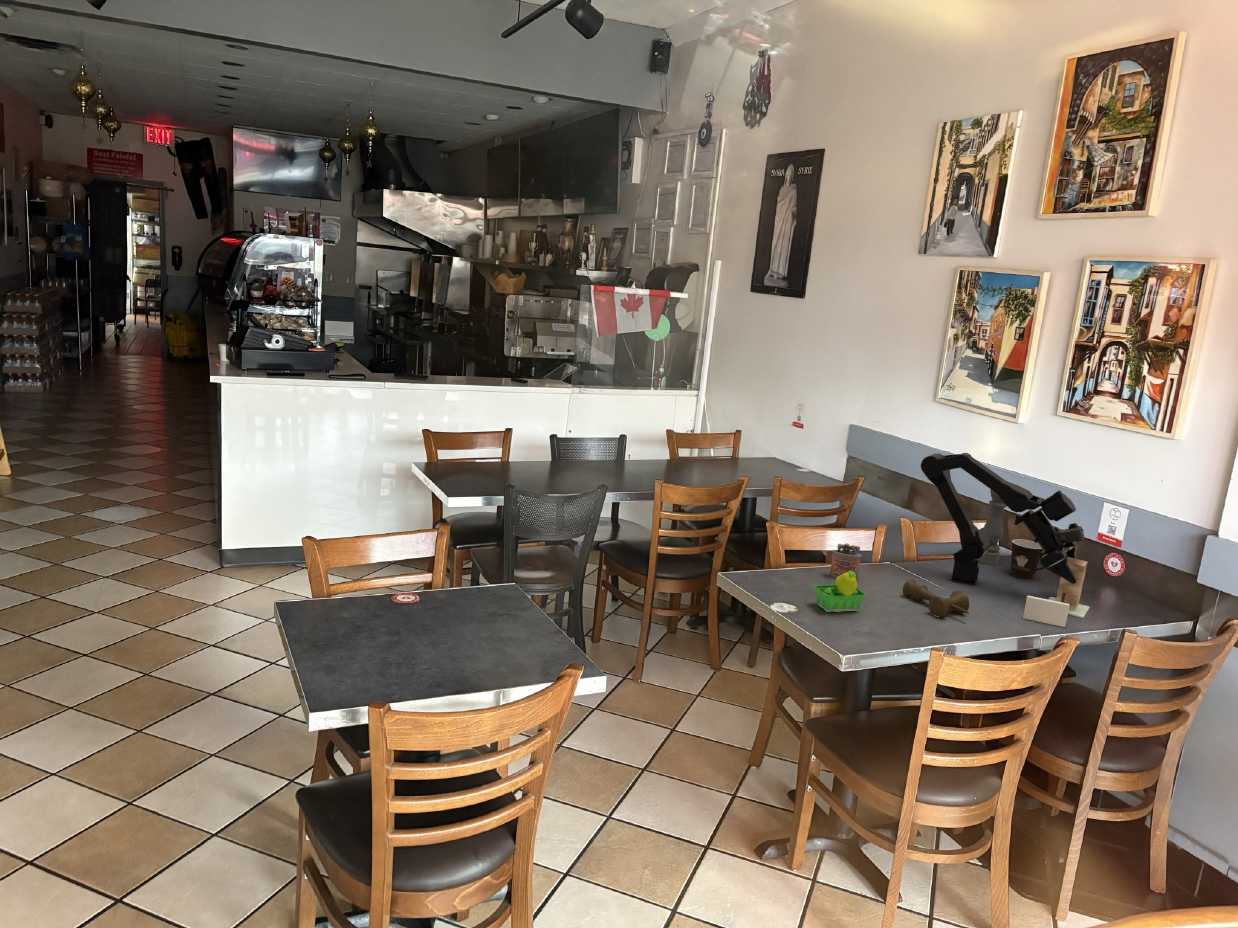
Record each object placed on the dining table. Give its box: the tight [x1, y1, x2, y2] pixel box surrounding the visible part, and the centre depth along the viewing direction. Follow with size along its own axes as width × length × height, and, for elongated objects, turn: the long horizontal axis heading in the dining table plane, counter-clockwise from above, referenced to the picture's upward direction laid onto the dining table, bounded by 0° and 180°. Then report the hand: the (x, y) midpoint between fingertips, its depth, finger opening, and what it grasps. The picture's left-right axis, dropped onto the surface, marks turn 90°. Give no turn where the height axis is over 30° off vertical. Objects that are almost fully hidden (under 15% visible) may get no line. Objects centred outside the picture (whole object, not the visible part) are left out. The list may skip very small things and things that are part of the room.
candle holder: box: [977, 489, 1008, 566], centre depth 276 cm, size 6×6×25 cm
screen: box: [1022, 595, 1070, 628], centre depth 232 cm, size 10×1×6 cm, turn 67°
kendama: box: [902, 578, 970, 618], centre depth 235 cm, size 6×10×20 cm
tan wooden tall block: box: [1055, 557, 1088, 611], centre depth 243 cm, size 5×5×13 cm
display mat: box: [1047, 596, 1091, 619], centre depth 244 cm, size 10×10×1 cm
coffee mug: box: [1009, 538, 1045, 580], centre depth 266 cm, size 12×9×10 cm
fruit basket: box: [813, 571, 866, 610], centre depth 228 cm, size 11×9×11 cm
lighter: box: [828, 543, 863, 582], centre depth 252 cm, size 8×3×10 cm, turn 73°
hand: (1077, 578), depth 242 cm, fingers open, 9 cm apart
